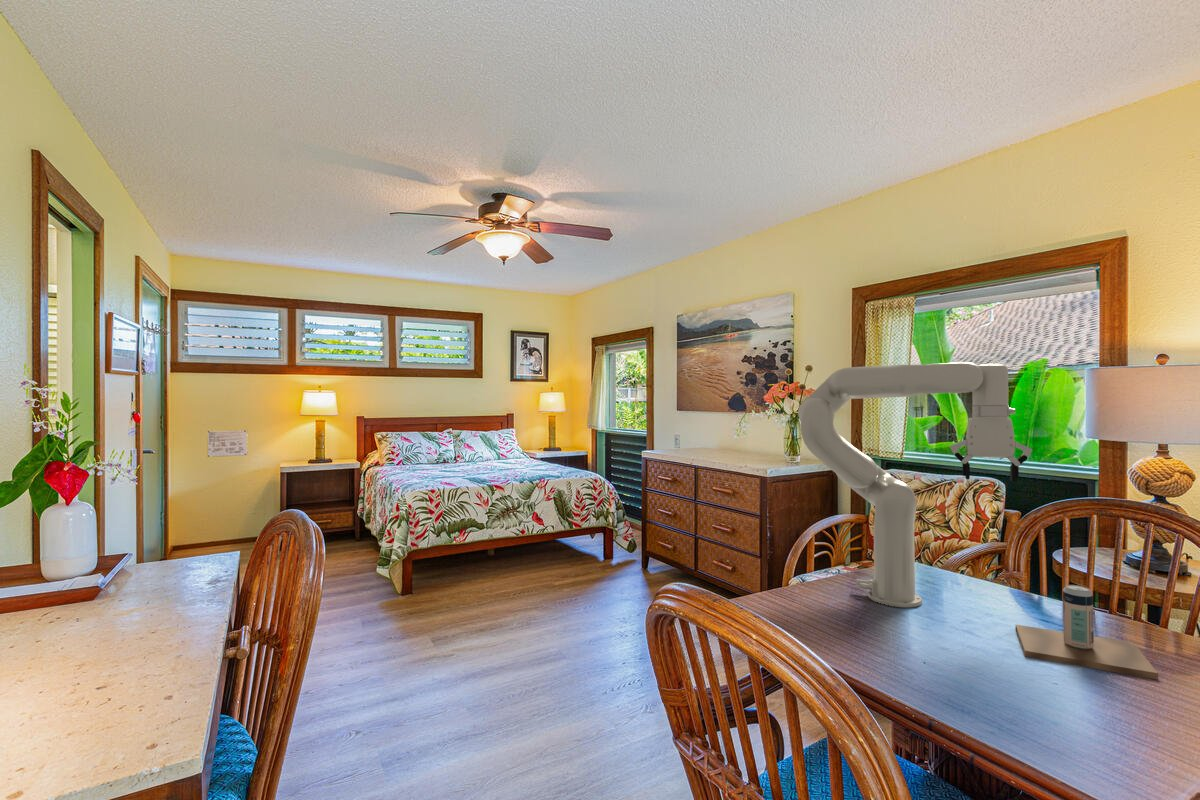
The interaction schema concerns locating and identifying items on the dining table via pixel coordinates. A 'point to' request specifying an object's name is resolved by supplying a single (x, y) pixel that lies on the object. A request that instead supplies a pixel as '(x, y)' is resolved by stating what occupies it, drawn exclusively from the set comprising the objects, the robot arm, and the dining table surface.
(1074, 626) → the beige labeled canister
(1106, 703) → the dining table surface
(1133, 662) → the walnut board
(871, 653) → the dining table surface
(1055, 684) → the dining table surface
